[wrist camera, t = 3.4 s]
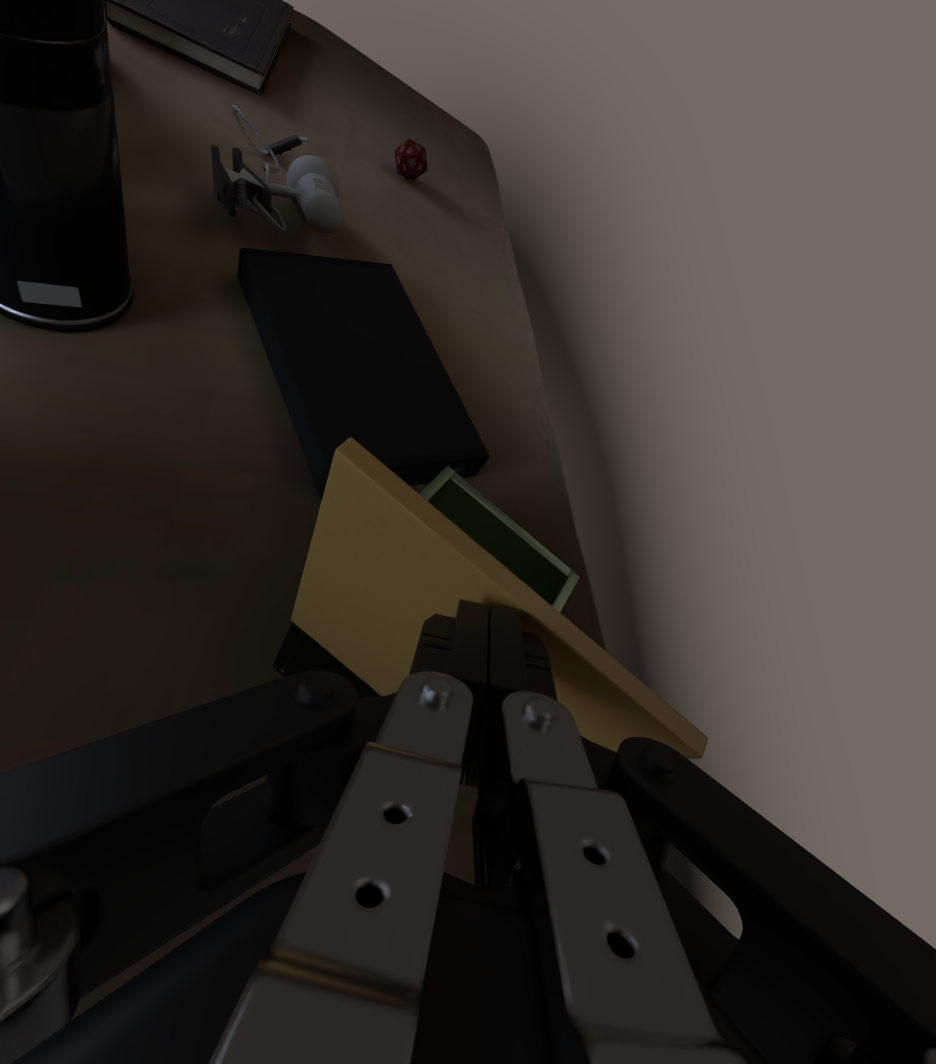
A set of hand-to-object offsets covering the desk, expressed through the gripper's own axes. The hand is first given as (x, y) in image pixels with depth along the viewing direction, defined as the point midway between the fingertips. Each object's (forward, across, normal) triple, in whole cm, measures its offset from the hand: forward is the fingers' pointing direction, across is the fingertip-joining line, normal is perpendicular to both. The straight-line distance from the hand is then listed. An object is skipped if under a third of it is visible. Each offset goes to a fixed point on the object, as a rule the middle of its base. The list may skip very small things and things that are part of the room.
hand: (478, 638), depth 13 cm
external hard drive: (+36, +13, -3) cm, 39 cm away
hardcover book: (+68, +44, -39) cm, 90 cm away
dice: (+66, +17, -27) cm, 73 cm away
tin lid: (+5, +1, +4) cm, 6 cm away
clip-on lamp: (+49, +27, -18) cm, 59 cm away
